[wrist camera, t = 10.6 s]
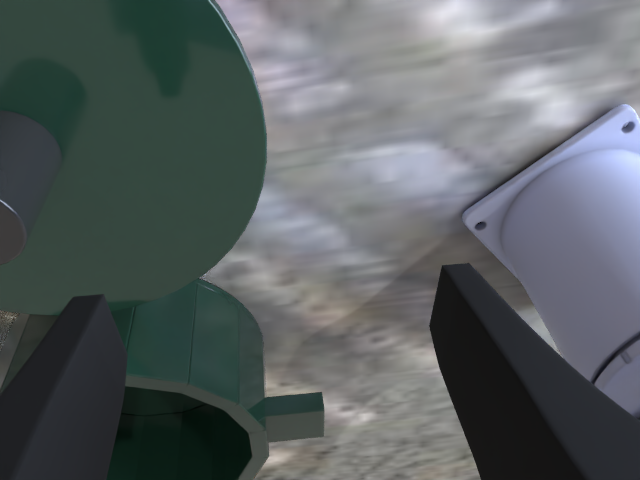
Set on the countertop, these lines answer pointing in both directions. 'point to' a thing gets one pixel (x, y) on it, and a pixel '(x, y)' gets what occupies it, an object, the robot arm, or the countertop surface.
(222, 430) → the pot
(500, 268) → the countertop surface
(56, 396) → the robot arm
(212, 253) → the lid
